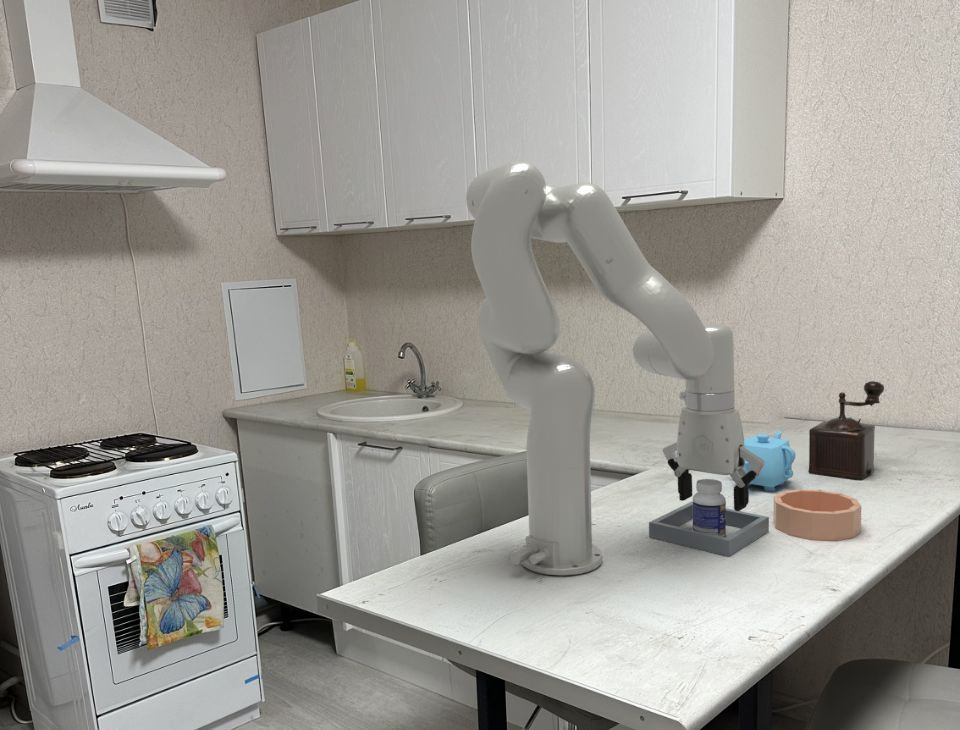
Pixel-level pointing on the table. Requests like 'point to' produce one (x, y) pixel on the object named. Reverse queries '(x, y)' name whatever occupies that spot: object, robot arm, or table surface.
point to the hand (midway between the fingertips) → (712, 503)
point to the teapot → (771, 460)
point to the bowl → (817, 514)
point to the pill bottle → (709, 508)
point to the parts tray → (726, 546)
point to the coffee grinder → (845, 441)
